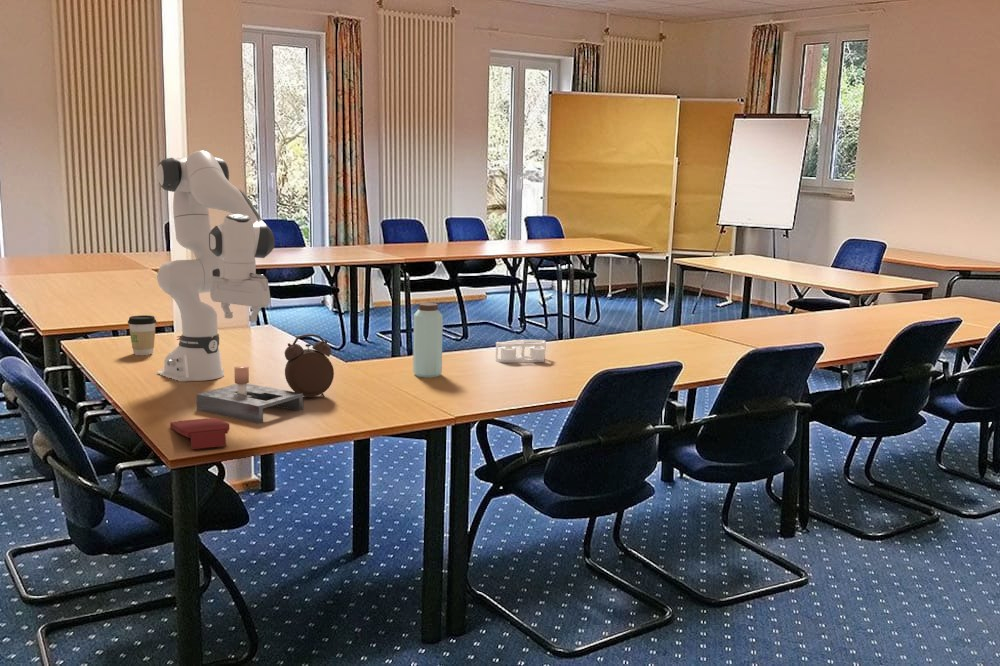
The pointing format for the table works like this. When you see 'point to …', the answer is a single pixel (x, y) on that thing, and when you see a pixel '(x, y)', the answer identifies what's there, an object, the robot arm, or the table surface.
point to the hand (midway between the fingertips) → (240, 319)
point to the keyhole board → (247, 401)
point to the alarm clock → (309, 367)
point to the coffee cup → (142, 334)
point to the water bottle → (427, 341)
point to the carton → (203, 432)
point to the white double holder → (521, 351)
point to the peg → (241, 378)
